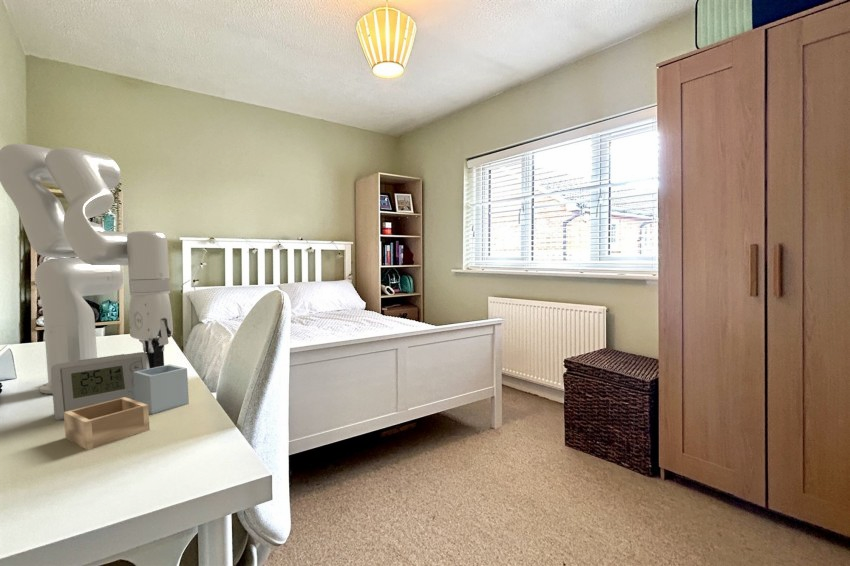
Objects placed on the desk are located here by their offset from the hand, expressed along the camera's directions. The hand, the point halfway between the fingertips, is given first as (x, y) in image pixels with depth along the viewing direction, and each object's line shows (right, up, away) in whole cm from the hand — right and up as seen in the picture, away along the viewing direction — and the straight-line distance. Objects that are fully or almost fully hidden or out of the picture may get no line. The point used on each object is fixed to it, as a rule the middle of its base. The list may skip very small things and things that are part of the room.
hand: (155, 369), depth 94 cm
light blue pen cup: (+7, -6, -8) cm, 12 cm away
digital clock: (-5, -7, -8) cm, 12 cm away
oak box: (+6, -7, -22) cm, 24 cm away
